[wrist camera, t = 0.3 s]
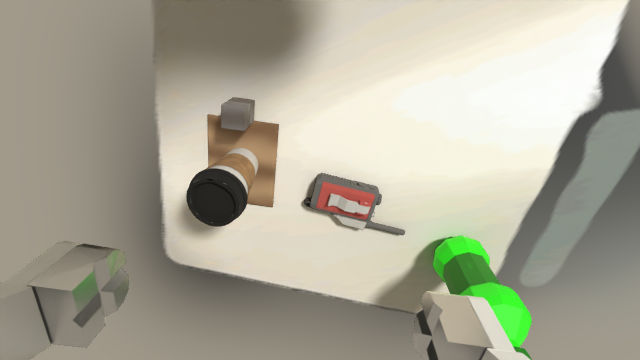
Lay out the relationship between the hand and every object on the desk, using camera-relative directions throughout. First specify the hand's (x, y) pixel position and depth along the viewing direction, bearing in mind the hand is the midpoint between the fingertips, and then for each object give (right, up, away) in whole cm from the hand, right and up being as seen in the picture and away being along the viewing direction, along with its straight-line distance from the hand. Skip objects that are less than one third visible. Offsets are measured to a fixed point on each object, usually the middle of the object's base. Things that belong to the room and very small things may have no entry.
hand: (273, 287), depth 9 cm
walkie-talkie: (+9, -1, +52) cm, 52 cm away
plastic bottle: (+27, -10, +54) cm, 62 cm away
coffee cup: (-13, +6, +49) cm, 51 cm away
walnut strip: (-12, +8, +48) cm, 50 cm away
